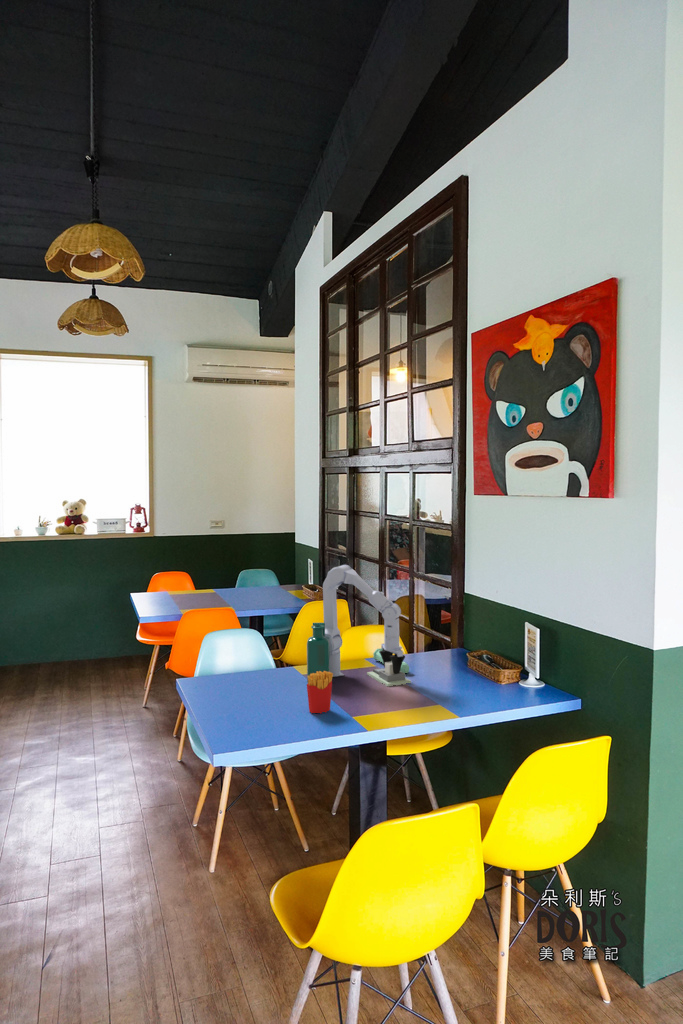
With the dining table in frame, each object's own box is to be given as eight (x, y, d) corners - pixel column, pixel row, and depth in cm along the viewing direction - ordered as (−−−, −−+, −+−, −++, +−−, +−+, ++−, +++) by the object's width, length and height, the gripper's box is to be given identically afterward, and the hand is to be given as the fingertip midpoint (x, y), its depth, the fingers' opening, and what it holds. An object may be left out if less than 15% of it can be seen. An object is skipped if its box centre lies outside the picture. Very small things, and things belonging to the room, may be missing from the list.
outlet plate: (387, 686, 257) (387, 677, 256) (367, 674, 273) (367, 666, 273) (411, 683, 260) (410, 674, 260) (389, 671, 277) (389, 663, 277)
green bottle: (329, 685, 259) (328, 627, 258) (307, 685, 259) (306, 627, 259) (330, 678, 269) (329, 622, 268) (308, 678, 269) (308, 622, 268)
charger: (389, 680, 261) (389, 664, 261) (384, 677, 265) (384, 662, 265) (399, 679, 263) (399, 663, 263) (394, 676, 267) (394, 661, 266)
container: (409, 659, 273) (382, 645, 296) (396, 666, 271) (371, 652, 294) (414, 672, 274) (387, 657, 297) (401, 679, 272) (375, 664, 295)
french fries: (311, 715, 225) (311, 676, 224) (305, 711, 228) (304, 673, 228) (335, 710, 230) (335, 671, 229) (328, 706, 233) (328, 669, 233)
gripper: (410, 638, 258) (410, 674, 259) (392, 631, 272) (392, 665, 272) (393, 640, 256) (393, 676, 256) (376, 633, 269) (376, 667, 269)
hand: (392, 671), depth 264 cm, fingers open, 7 cm apart
